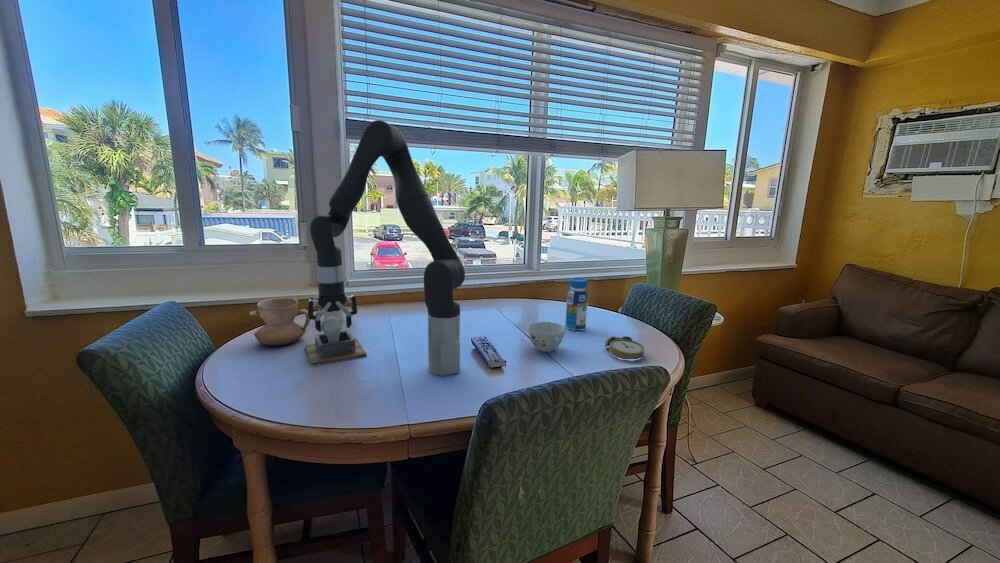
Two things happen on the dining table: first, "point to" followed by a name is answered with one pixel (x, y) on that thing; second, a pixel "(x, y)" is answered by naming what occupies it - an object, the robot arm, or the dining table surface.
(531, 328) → the teacup
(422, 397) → the dining table surface
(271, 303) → the ceramic jug
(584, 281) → the beverage bottle
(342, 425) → the dining table surface
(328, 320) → the lightbulb
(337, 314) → the can
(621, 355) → the alarm clock
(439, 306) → the robot arm
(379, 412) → the dining table surface
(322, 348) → the socket
